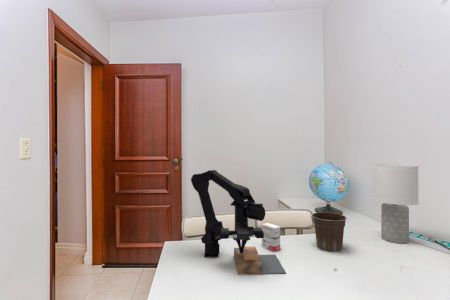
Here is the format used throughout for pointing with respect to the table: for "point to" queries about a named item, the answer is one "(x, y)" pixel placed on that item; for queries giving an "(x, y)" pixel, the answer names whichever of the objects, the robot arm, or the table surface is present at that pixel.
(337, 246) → the plant pot
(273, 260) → the mat
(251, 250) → the light orange block
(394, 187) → the lamp
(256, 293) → the table surface
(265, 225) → the ink box
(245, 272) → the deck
